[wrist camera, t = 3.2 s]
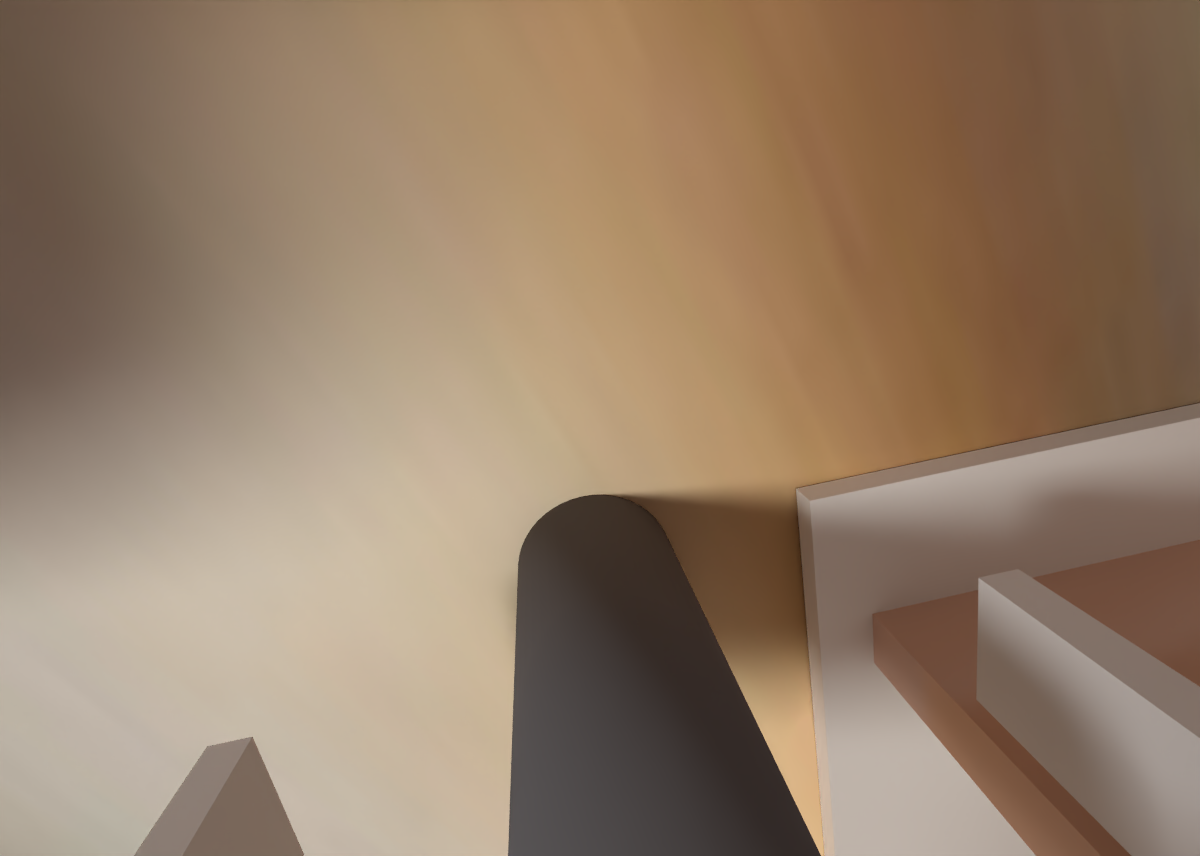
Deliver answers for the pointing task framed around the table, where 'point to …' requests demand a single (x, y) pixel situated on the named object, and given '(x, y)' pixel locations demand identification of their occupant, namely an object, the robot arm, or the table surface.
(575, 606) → the tool handle
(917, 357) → the table surface
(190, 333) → the table surface
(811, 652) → the board
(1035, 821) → the tile
